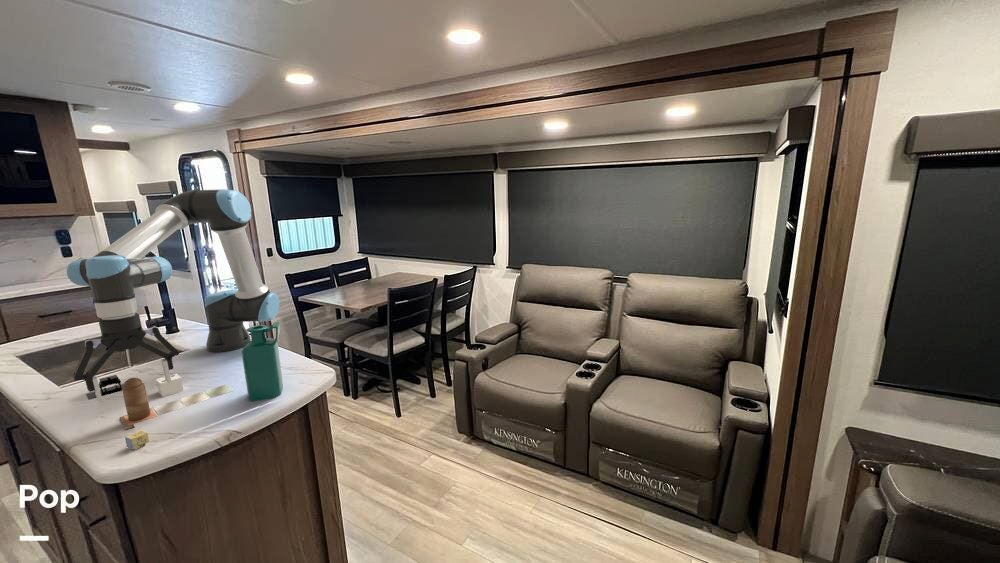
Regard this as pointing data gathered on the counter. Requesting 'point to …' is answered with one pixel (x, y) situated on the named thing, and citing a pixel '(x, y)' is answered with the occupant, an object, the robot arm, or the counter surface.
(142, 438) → the alphabet block
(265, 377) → the green plastic tall bottle
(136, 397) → the wooden domed cylinder
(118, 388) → the black piece
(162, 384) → the die
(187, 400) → the game board
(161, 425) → the counter surface
